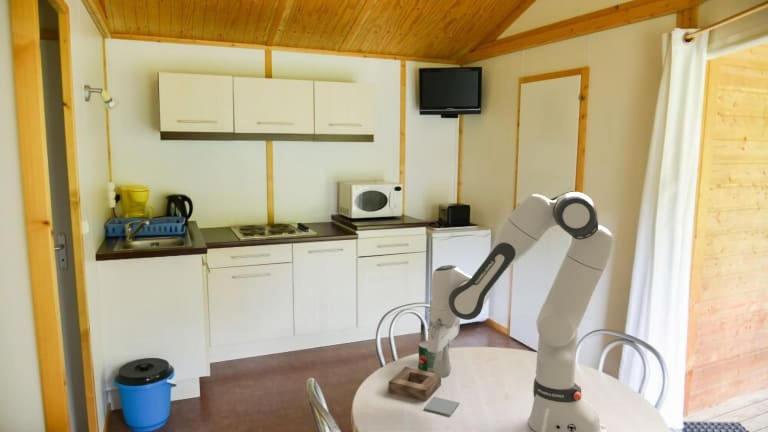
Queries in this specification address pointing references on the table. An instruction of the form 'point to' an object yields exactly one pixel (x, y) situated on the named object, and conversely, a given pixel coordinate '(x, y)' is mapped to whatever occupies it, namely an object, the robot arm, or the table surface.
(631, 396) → the table surface
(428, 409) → the coaster
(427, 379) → the socket block
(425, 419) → the table surface
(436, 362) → the salt shaker
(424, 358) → the canned tomato
